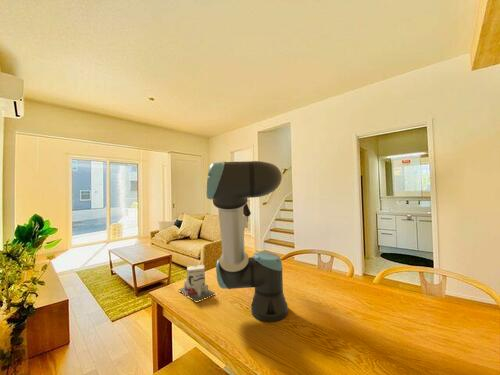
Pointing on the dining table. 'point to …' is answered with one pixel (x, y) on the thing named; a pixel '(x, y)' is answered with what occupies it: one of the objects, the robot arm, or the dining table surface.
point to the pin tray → (198, 295)
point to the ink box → (195, 279)
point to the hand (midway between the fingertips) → (236, 229)
